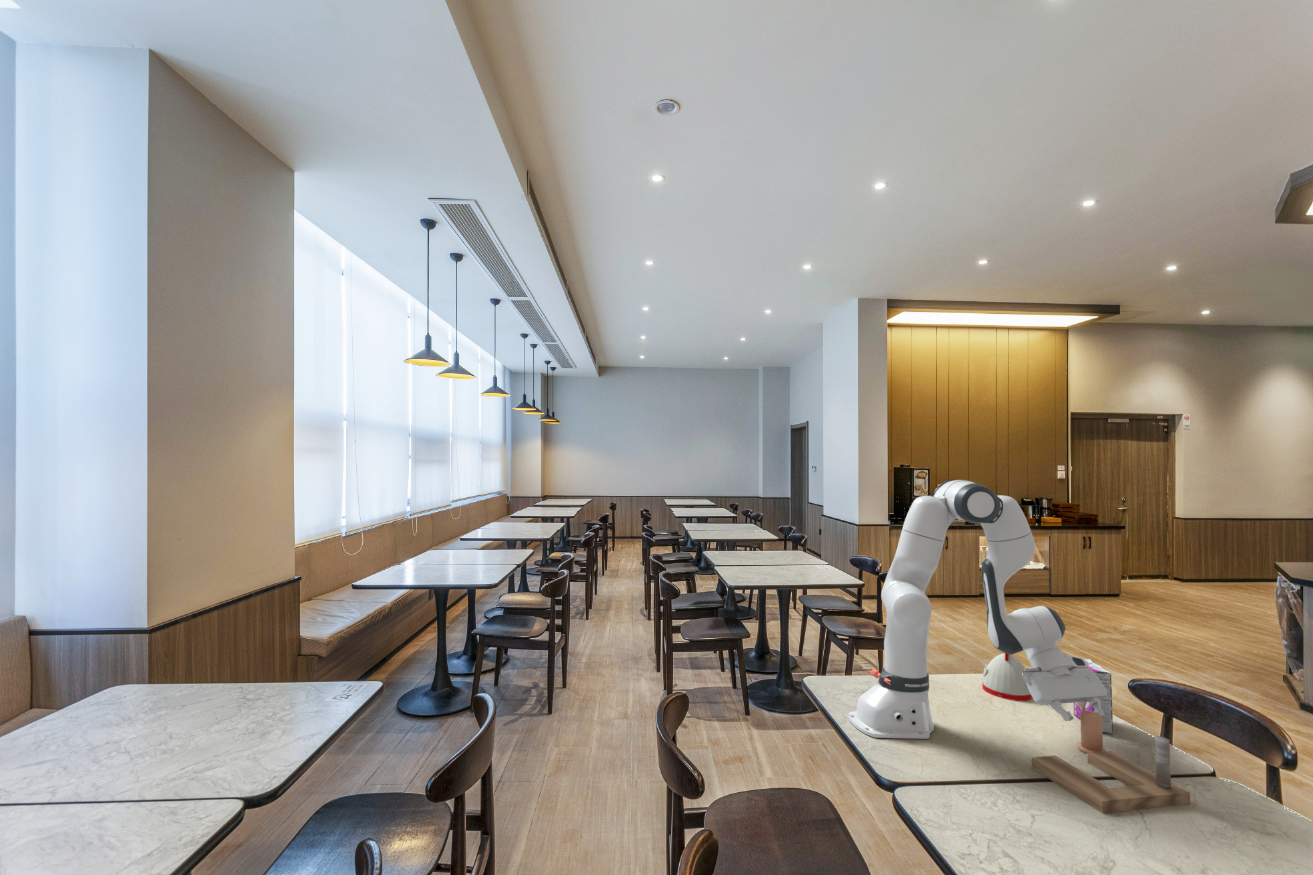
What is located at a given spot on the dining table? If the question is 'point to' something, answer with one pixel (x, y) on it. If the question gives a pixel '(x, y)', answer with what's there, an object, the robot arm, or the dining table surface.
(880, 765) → the dining table surface
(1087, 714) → the tan cylinder
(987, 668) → the kitchen timer
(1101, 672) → the candy bar box
